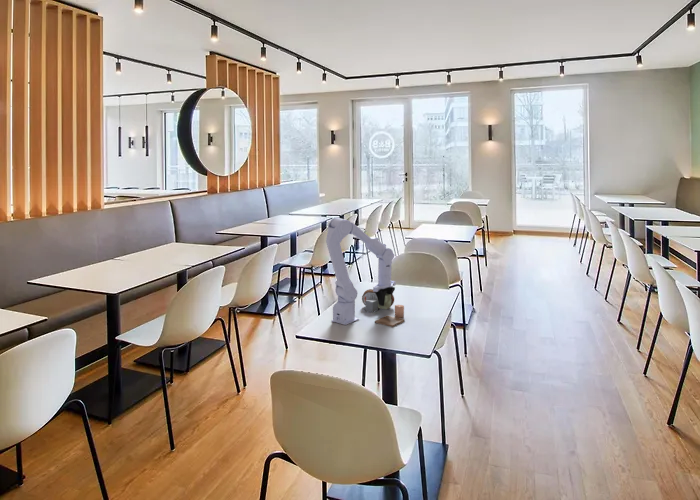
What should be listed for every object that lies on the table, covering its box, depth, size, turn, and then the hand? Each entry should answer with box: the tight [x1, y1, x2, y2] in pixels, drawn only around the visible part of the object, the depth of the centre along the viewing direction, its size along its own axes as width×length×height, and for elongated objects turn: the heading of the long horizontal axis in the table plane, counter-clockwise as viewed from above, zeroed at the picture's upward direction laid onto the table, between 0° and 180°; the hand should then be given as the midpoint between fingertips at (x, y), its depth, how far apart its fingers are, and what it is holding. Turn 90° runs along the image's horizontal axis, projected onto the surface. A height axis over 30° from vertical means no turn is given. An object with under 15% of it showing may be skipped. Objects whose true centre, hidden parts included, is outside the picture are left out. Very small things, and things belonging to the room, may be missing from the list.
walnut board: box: [374, 315, 406, 328], centre depth 203 cm, size 9×9×1 cm
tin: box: [361, 288, 395, 307], centre depth 222 cm, size 15×3×8 cm, turn 74°
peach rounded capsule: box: [394, 304, 405, 319], centre depth 209 cm, size 4×4×5 cm
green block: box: [378, 294, 392, 310], centre depth 212 cm, size 4×4×6 cm
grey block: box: [365, 299, 379, 313], centre depth 218 cm, size 4×4×5 cm
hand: (384, 304), depth 212 cm, fingers closed on green block, 4 cm apart
